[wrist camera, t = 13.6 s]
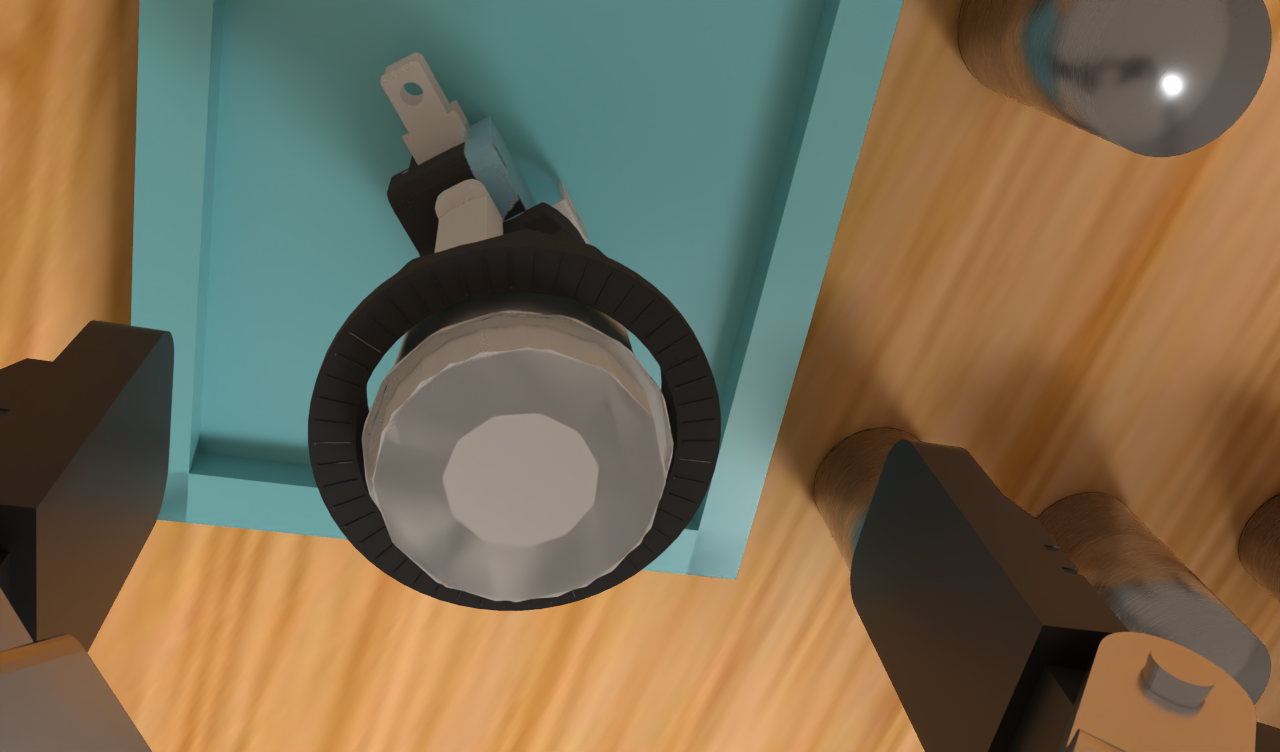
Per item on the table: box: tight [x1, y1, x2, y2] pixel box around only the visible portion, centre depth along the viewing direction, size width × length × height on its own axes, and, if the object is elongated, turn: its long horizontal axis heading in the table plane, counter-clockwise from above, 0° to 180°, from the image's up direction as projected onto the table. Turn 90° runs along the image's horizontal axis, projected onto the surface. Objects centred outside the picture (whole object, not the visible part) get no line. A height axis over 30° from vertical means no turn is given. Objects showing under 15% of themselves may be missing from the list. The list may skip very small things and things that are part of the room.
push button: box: [308, 52, 721, 611], centre depth 18 cm, size 7×5×10 cm
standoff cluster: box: [814, 0, 1280, 705], centre depth 24 cm, size 15×15×6 cm
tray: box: [131, 0, 904, 579], centre depth 22 cm, size 13×15×2 cm
